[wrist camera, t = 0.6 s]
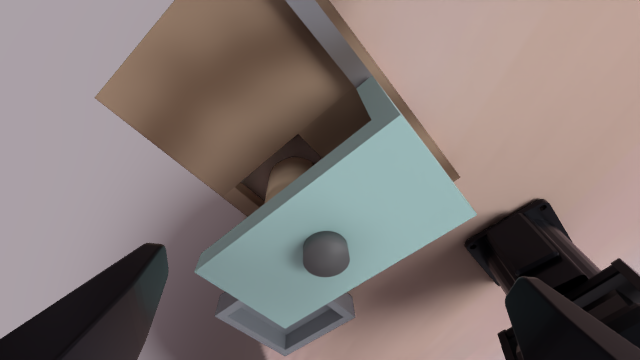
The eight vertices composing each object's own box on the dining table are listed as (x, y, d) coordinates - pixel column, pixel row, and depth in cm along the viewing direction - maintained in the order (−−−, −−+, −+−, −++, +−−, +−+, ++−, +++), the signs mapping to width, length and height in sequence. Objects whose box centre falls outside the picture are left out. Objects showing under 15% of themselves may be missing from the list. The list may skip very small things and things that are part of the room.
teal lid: (433, 155, 19) (486, 226, 13) (288, 254, 22) (284, 342, 17) (372, 75, 16) (406, 123, 11) (220, 202, 20) (189, 286, 14)
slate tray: (352, 296, 28) (355, 317, 27) (286, 335, 31) (285, 356, 29) (288, 247, 25) (287, 267, 23) (220, 295, 27) (214, 316, 26)
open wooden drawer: (454, 169, 22) (467, 185, 20) (315, 260, 26) (316, 280, 24) (258, -94, 14) (252, -105, 12) (104, 92, 18) (83, 103, 16)
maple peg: (333, 182, 22) (342, 243, 17) (294, 211, 23) (292, 276, 18) (297, 146, 20) (295, 202, 15) (257, 179, 22) (243, 241, 16)
